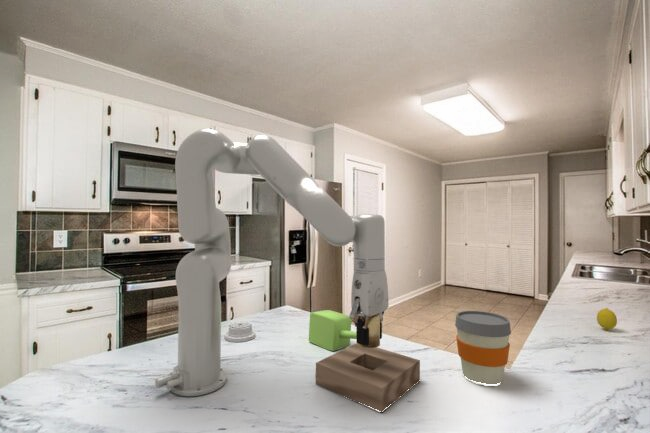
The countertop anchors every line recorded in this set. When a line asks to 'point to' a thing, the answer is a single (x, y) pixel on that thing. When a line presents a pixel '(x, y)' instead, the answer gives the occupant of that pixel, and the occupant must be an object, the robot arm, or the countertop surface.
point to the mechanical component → (240, 332)
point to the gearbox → (330, 329)
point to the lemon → (606, 319)
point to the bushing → (373, 331)
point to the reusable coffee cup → (483, 345)
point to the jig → (368, 375)
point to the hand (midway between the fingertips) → (369, 340)
